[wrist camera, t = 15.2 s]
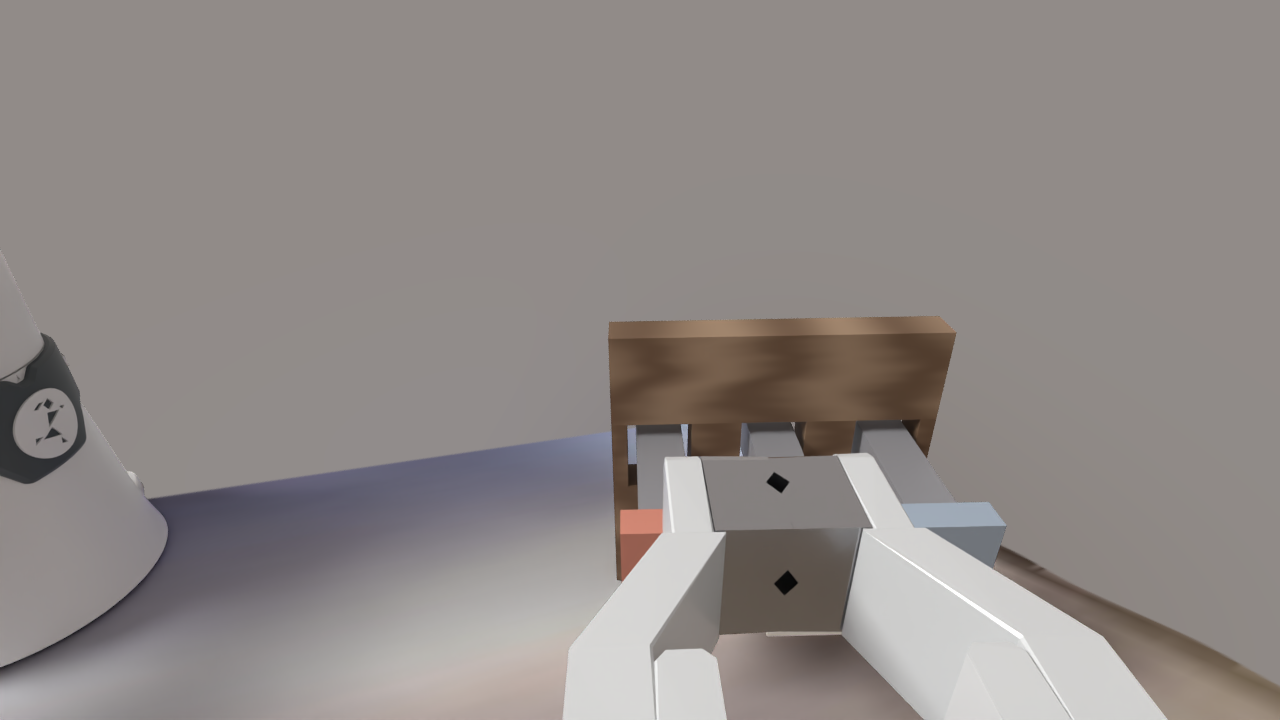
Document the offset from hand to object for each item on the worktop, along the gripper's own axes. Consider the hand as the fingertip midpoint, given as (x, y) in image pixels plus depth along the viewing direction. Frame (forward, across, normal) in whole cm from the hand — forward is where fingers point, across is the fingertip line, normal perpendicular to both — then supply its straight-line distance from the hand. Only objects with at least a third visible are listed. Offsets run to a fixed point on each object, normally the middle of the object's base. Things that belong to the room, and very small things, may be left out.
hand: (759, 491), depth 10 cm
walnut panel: (+22, +6, -24) cm, 33 cm away
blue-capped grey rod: (+19, +12, -17) cm, 28 cm away
